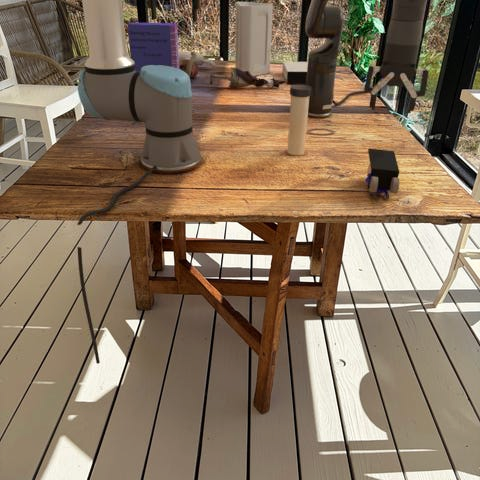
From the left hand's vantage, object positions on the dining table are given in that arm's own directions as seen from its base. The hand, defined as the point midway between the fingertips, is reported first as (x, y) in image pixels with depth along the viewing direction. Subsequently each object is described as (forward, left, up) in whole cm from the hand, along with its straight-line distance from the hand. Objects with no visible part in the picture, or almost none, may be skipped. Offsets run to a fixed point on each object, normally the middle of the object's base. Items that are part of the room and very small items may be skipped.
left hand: (174, 20), depth 152 cm
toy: (+65, +18, -28) cm, 73 cm away
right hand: (-37, -67, -14) cm, 78 cm away
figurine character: (-54, -65, -28) cm, 89 cm away
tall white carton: (+63, -16, -28) cm, 71 cm away
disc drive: (+57, -39, -28) cm, 75 cm away
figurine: (+34, -18, -28) cm, 47 cm away
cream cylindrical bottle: (-34, -44, -28) cm, 62 cm away
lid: (-34, -44, -11) cm, 57 cm away
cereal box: (+22, +16, -28) cm, 39 cm away
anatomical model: (+41, +10, -28) cm, 50 cm away
